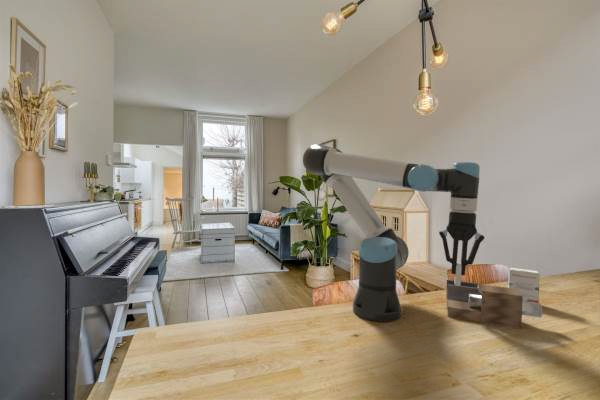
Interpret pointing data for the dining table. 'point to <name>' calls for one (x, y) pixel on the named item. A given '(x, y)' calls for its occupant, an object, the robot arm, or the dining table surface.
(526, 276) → the ink box
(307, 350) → the dining table surface
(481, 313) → the wooden shaft support
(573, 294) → the dining table surface
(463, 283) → the v block
